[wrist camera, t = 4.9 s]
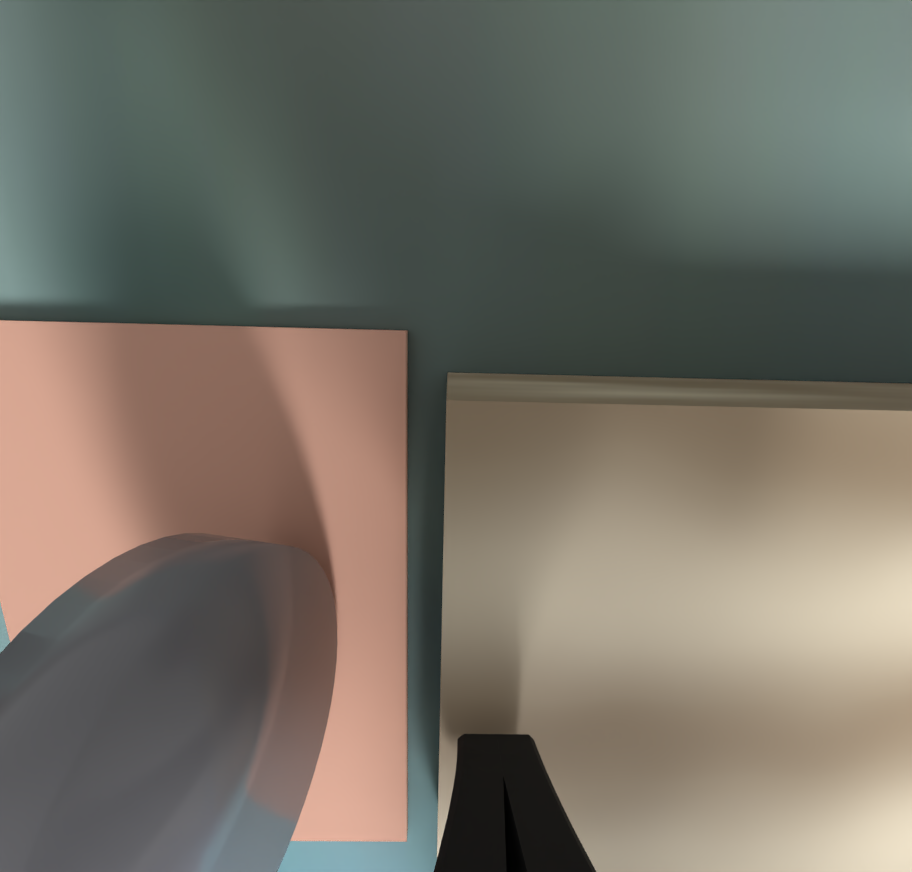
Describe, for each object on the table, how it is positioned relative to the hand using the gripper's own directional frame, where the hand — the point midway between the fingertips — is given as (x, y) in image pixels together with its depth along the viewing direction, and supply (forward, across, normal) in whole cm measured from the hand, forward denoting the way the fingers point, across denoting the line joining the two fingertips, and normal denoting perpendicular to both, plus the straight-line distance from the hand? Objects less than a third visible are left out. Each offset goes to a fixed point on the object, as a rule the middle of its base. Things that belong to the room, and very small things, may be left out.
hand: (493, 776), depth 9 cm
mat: (+5, +8, 0) cm, 9 cm away
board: (+5, -6, 0) cm, 8 cm away
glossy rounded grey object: (0, +5, 0) cm, 5 cm away
